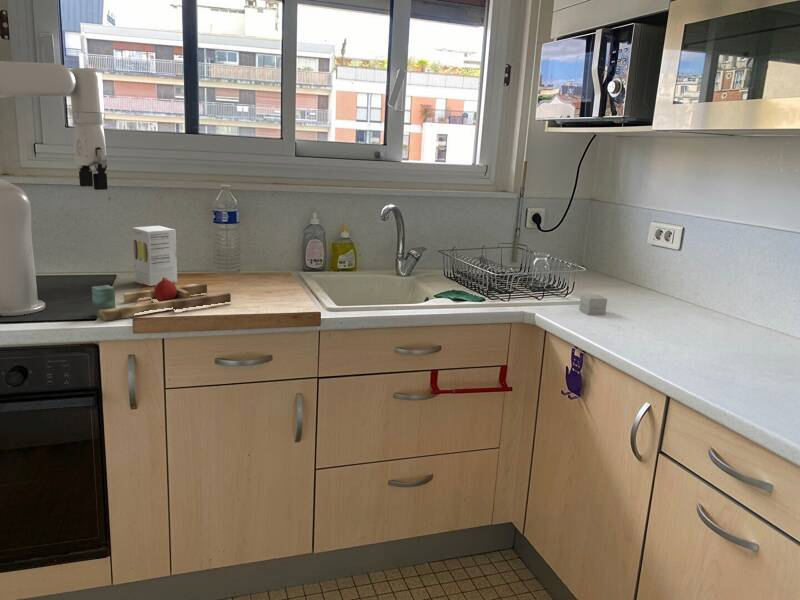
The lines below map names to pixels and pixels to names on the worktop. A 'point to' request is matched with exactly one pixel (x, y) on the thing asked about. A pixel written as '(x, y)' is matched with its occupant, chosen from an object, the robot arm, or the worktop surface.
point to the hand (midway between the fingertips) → (93, 187)
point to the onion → (165, 290)
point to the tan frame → (108, 311)
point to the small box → (593, 304)
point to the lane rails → (199, 300)
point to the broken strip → (141, 295)
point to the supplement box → (154, 254)
